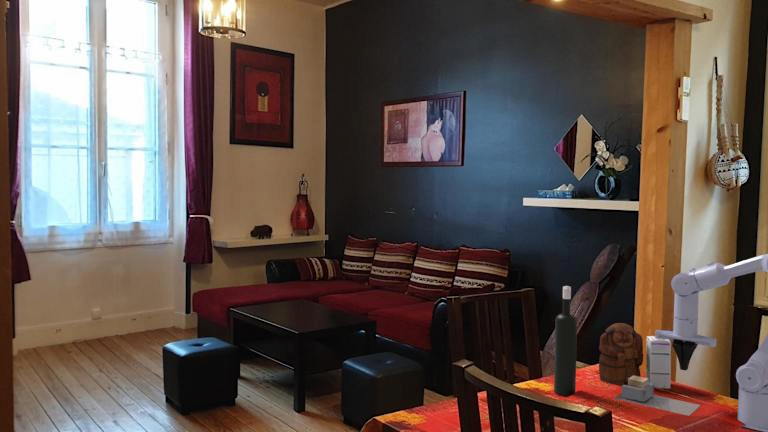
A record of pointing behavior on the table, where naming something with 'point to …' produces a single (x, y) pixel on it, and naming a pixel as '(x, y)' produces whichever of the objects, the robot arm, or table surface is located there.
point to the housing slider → (638, 392)
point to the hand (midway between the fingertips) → (684, 369)
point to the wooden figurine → (620, 354)
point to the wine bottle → (565, 348)
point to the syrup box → (658, 362)
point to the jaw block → (638, 382)
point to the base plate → (664, 404)
